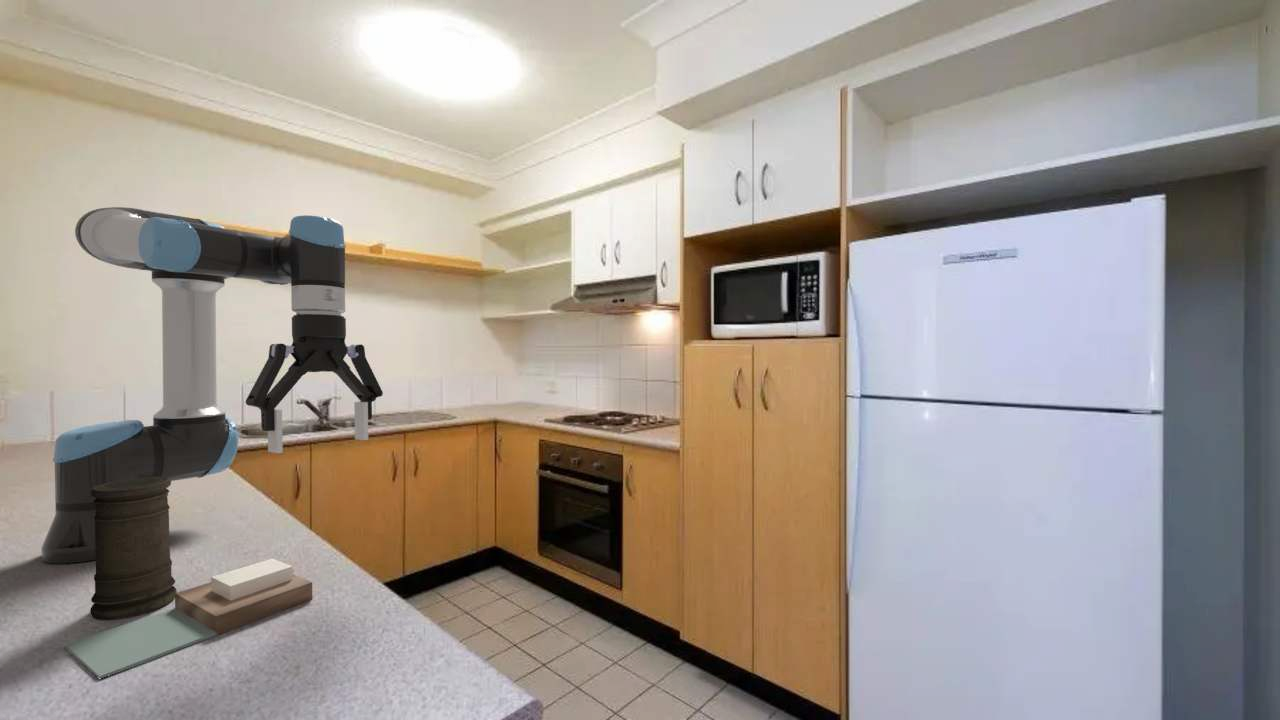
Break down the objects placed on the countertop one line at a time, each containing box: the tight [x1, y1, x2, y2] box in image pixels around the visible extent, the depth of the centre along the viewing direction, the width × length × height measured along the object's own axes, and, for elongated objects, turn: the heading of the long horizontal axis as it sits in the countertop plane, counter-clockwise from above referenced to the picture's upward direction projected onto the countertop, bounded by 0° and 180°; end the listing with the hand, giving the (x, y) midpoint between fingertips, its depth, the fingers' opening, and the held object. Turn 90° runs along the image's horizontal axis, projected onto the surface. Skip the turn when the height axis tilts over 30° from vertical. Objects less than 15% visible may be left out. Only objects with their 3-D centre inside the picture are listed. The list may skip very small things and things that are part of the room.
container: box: [89, 477, 178, 621], centre depth 78 cm, size 9×9×18 cm
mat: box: [63, 607, 217, 679], centre depth 68 cm, size 13×11×1 cm
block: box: [210, 558, 294, 601], centre depth 79 cm, size 6×8×2 cm
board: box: [174, 574, 313, 636], centre depth 78 cm, size 13×12×2 cm
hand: (321, 445), depth 87 cm, fingers open, 13 cm apart
